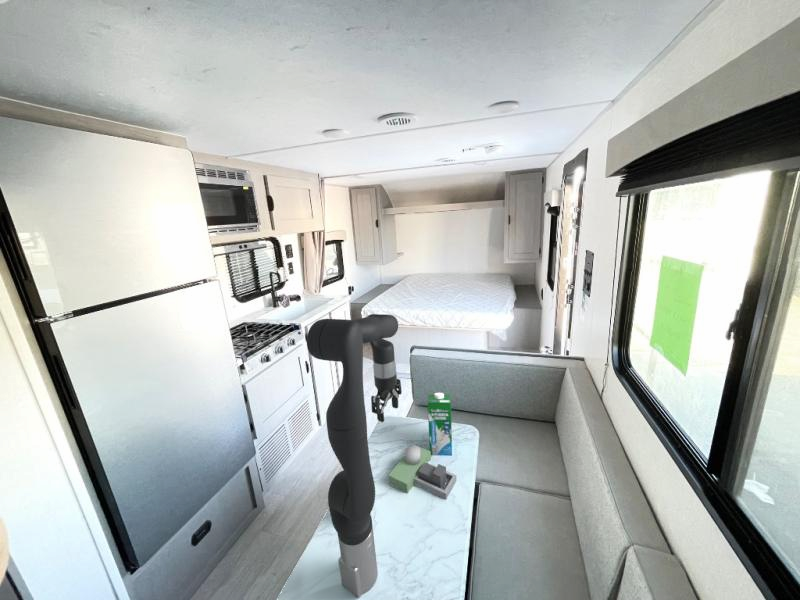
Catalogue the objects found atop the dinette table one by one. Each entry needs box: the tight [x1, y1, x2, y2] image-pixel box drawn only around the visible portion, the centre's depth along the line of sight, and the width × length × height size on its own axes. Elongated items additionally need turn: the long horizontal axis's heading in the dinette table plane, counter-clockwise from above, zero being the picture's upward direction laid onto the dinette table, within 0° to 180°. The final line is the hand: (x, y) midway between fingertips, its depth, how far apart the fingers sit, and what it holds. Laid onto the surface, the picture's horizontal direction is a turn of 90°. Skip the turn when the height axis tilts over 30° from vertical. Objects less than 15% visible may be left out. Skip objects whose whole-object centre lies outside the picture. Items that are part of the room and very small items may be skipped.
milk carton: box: [427, 392, 453, 456], centre depth 129 cm, size 9×9×25 cm
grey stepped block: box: [418, 462, 447, 490], centre depth 115 cm, size 9×5×7 cm, turn 57°
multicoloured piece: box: [388, 444, 457, 500], centre depth 117 cm, size 18×21×8 cm
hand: (388, 414), depth 108 cm, fingers open, 8 cm apart
